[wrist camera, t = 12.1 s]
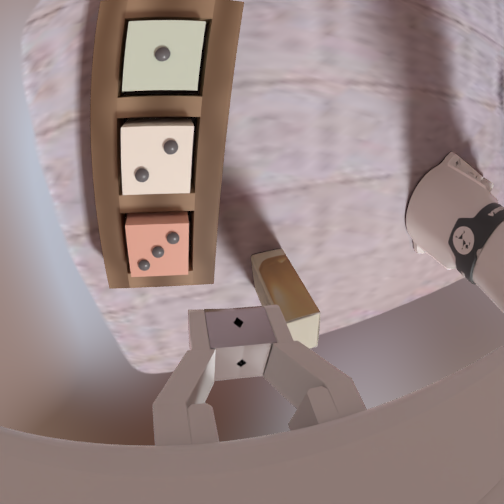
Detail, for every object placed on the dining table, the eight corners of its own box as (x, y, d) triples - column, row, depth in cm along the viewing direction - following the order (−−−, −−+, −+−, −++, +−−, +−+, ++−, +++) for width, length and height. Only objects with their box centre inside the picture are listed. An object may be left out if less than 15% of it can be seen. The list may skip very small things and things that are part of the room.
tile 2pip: (190, 117, 26) (194, 126, 22) (186, 174, 29) (190, 194, 25) (129, 118, 24) (120, 127, 20) (129, 176, 27) (122, 196, 23)
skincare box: (283, 282, 42) (318, 348, 32) (254, 289, 41) (282, 359, 32) (282, 245, 38) (322, 312, 28) (249, 253, 37) (281, 324, 28)
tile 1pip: (199, 30, 21) (206, 20, 17) (192, 88, 24) (197, 90, 20) (135, 30, 19) (128, 20, 15) (130, 88, 22) (121, 91, 18)
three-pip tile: (185, 200, 31) (189, 224, 27) (184, 248, 34) (188, 275, 30) (130, 202, 29) (124, 226, 25) (134, 250, 32) (131, 278, 28)
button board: (234, 10, 21) (244, 2, 17) (208, 262, 37) (213, 283, 33) (109, 9, 17) (100, 0, 14) (113, 267, 33) (109, 288, 30)
